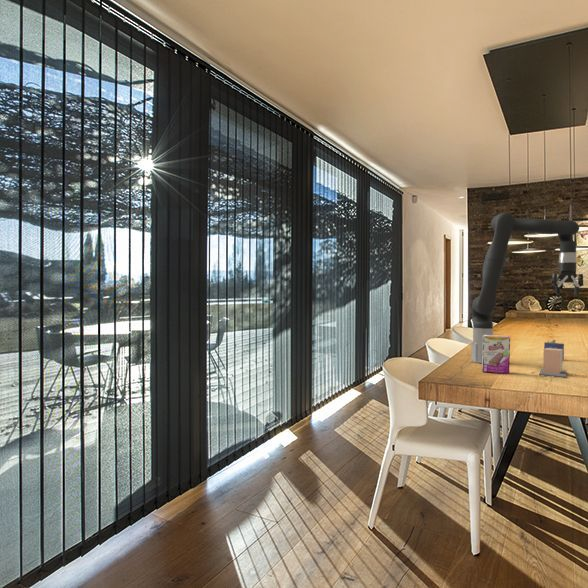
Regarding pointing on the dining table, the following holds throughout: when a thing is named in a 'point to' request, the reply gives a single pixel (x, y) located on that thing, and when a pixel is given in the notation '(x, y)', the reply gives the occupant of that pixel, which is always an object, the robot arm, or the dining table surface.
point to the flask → (554, 346)
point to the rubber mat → (553, 373)
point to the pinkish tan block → (553, 360)
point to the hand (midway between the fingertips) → (567, 294)
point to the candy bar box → (496, 354)
